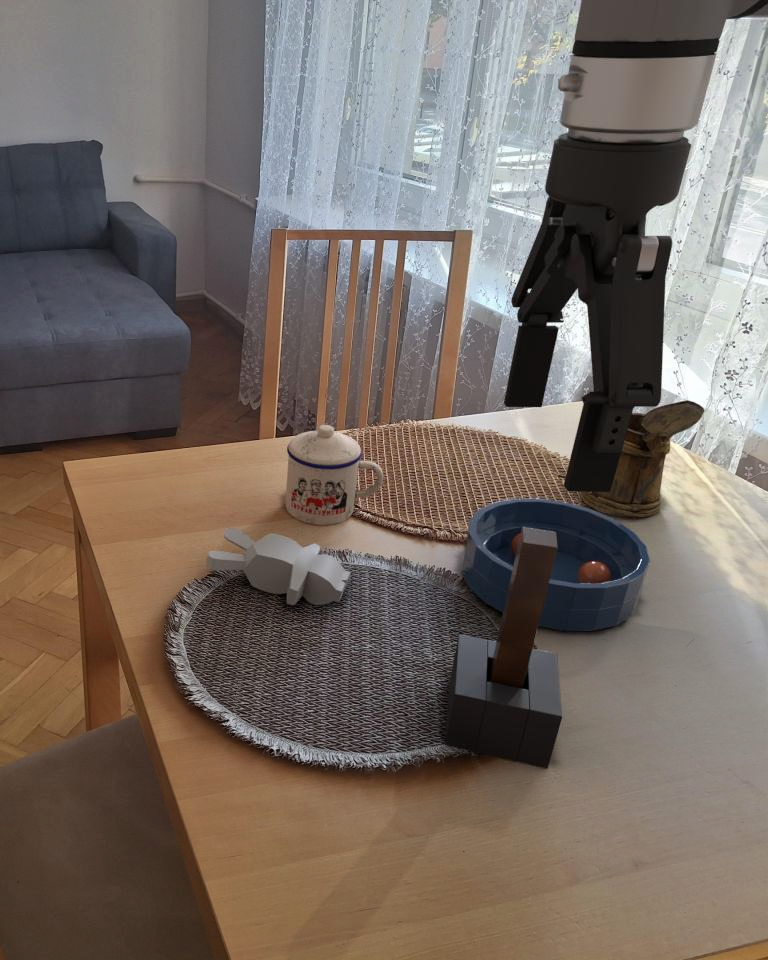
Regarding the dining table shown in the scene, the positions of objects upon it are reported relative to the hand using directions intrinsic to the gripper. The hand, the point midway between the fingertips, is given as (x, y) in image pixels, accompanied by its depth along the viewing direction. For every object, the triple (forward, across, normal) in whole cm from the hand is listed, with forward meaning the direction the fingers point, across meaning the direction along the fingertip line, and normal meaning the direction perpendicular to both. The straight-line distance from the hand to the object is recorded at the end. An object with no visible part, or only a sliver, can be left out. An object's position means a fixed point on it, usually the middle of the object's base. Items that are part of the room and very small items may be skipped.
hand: (551, 443), depth 63 cm
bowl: (+29, -23, +12) cm, 39 cm away
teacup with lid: (+29, -38, -9) cm, 49 cm away
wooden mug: (+29, -39, +28) cm, 56 cm away
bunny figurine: (+29, -22, -17) cm, 40 cm away
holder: (+29, -1, +1) cm, 29 cm away
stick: (+29, -1, +1) cm, 29 cm away
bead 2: (+26, -22, +17) cm, 38 cm away
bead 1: (+26, -27, +11) cm, 39 cm away
